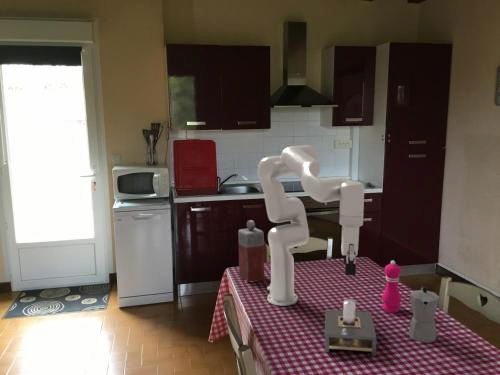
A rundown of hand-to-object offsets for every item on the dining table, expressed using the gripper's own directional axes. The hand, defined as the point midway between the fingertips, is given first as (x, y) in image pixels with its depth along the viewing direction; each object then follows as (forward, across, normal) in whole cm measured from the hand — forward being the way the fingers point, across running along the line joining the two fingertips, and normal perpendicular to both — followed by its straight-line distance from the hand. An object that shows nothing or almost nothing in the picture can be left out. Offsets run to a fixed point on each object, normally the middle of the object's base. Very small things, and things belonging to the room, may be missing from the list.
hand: (349, 269), depth 148 cm
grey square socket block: (+25, +1, 0) cm, 25 cm away
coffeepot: (+25, -6, +26) cm, 37 cm away
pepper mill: (+26, -26, +18) cm, 41 cm away
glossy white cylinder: (+25, +1, 0) cm, 25 cm away
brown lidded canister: (+27, -52, -40) cm, 71 cm away
